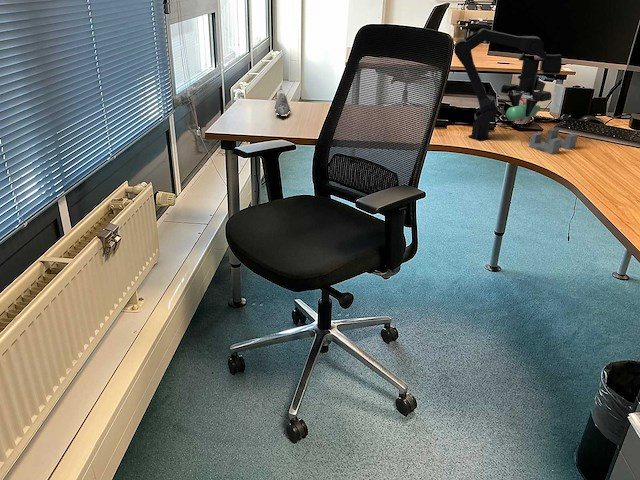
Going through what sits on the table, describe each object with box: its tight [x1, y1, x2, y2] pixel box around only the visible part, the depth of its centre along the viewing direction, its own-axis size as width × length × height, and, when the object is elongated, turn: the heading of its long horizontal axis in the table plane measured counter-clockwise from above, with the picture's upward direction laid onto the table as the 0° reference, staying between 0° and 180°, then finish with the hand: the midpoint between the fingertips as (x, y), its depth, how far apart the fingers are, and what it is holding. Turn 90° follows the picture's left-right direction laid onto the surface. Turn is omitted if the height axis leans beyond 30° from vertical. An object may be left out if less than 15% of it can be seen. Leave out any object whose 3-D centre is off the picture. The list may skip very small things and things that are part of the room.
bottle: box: [505, 104, 541, 122], centre depth 204 cm, size 16×5×5 cm, turn 123°
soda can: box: [512, 94, 531, 124], centre depth 226 cm, size 7×7×12 cm
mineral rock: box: [274, 92, 291, 115], centre depth 236 cm, size 13×11×10 cm
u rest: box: [528, 128, 579, 155], centre depth 200 cm, size 14×10×5 cm
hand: (521, 115), depth 204 cm, fingers closed on bottle, 5 cm apart
